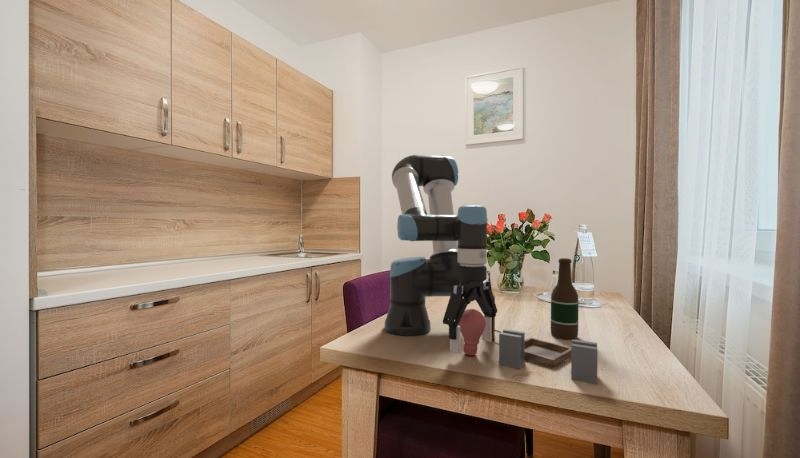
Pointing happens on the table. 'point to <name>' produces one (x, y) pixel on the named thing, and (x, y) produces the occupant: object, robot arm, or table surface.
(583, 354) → the grey flat block
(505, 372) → the table surface
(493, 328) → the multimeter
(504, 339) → the grey block
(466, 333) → the light bulb
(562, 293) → the beer bottle
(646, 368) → the table surface
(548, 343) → the shallow rectangular tray
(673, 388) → the table surface
